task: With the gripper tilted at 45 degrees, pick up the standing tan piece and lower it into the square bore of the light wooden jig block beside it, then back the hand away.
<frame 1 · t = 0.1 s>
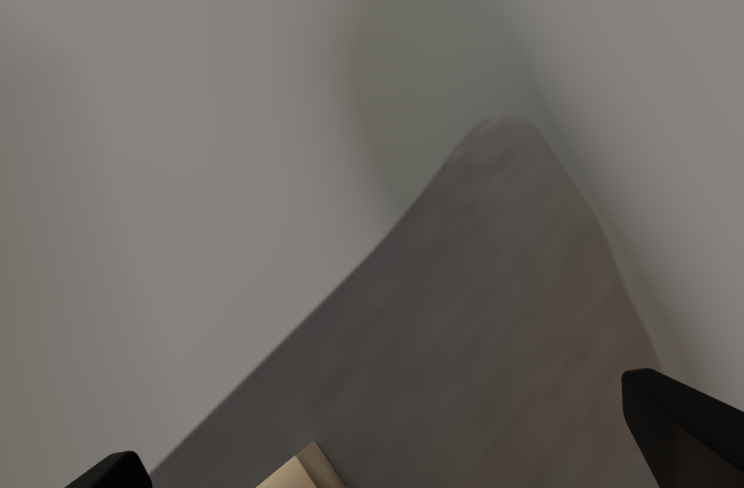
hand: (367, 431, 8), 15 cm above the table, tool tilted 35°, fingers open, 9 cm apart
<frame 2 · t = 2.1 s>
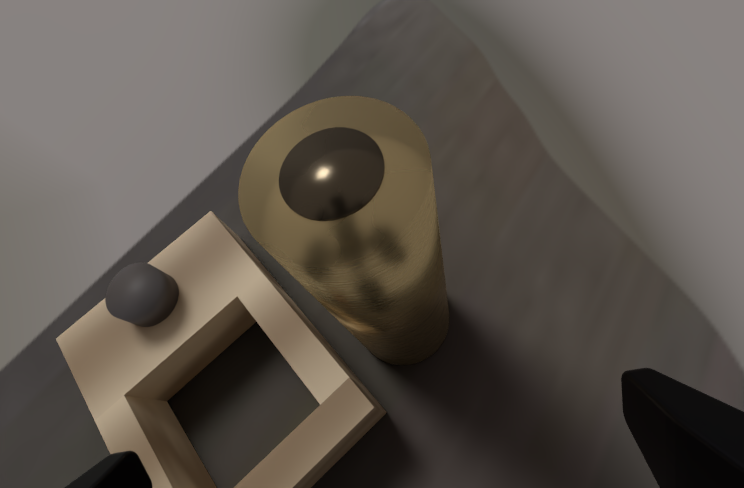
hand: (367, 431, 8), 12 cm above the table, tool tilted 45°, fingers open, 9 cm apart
tan piece: (402, 317, 21), on the table
jig: (249, 405, 20), on the table
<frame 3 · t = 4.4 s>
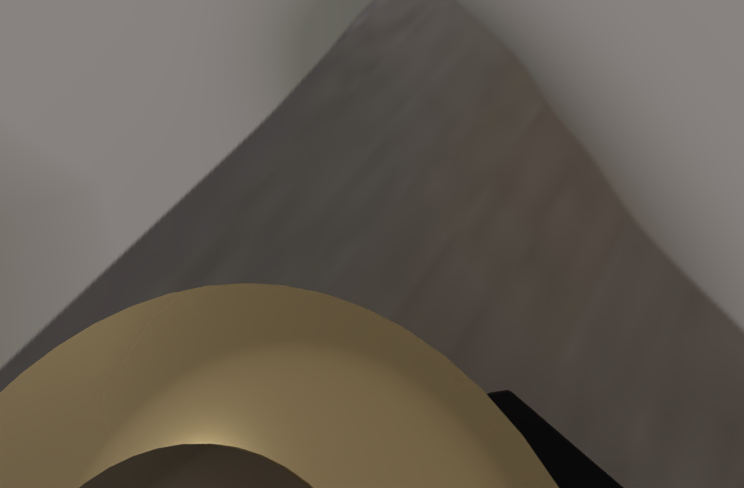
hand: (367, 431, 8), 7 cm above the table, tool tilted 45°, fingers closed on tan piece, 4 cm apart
tan piece: (416, 486, 13), on the table, touching gripper
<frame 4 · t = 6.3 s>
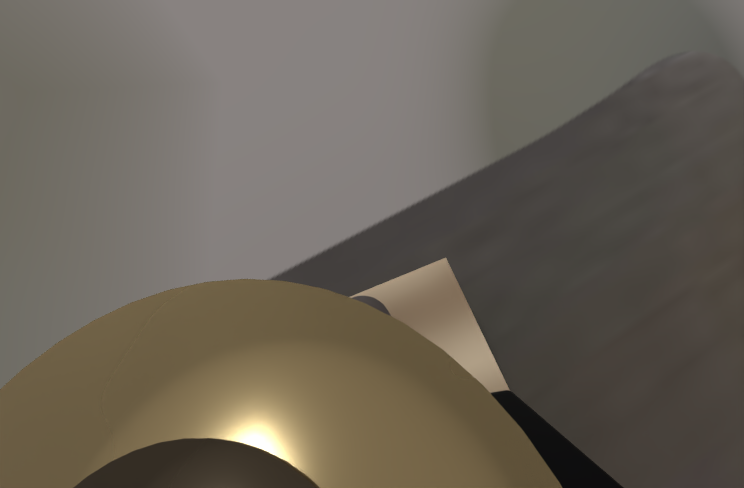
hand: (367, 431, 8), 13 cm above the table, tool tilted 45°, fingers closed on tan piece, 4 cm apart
tan piece: (417, 485, 13), point 7 cm above the table, touching gripper
jig: (424, 472, 19), on the table
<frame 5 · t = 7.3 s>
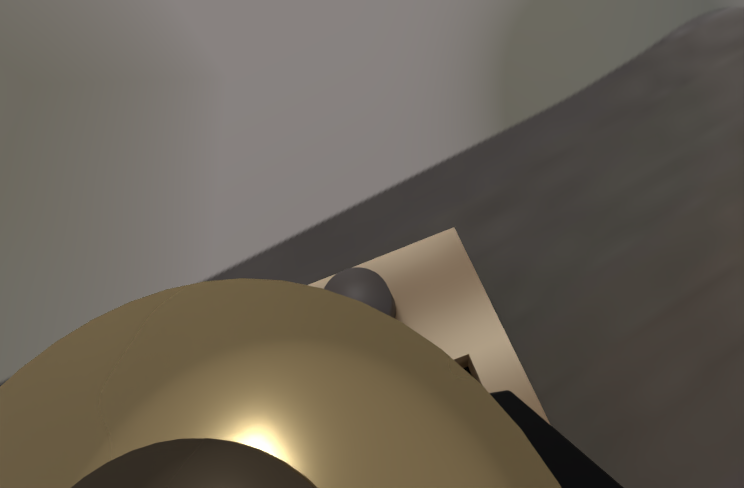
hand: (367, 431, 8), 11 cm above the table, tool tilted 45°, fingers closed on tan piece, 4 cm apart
tan piece: (416, 485, 13), point 4 cm above the table, touching gripper
jig: (426, 471, 17), on the table
when the fingers open (8 cm above the table, at t = 8.2 s): tan piece drops 1 cm, resting in jig.
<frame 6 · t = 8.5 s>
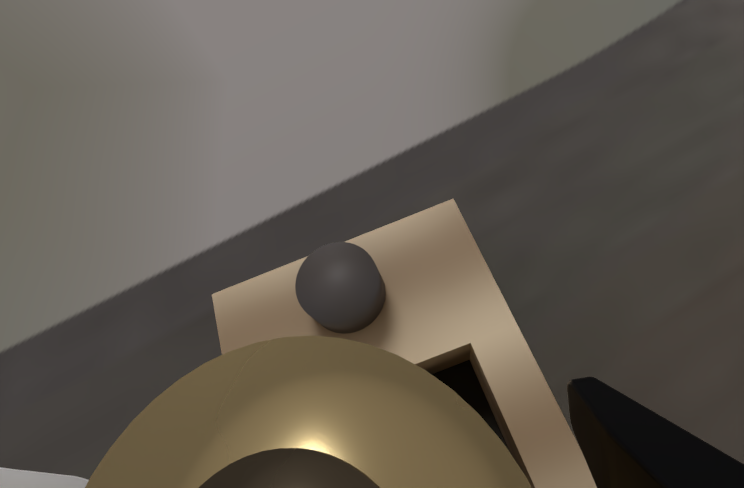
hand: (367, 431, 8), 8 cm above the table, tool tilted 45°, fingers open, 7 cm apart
tan piece: (421, 484, 14), resting in jig
jig: (421, 482, 14), on the table
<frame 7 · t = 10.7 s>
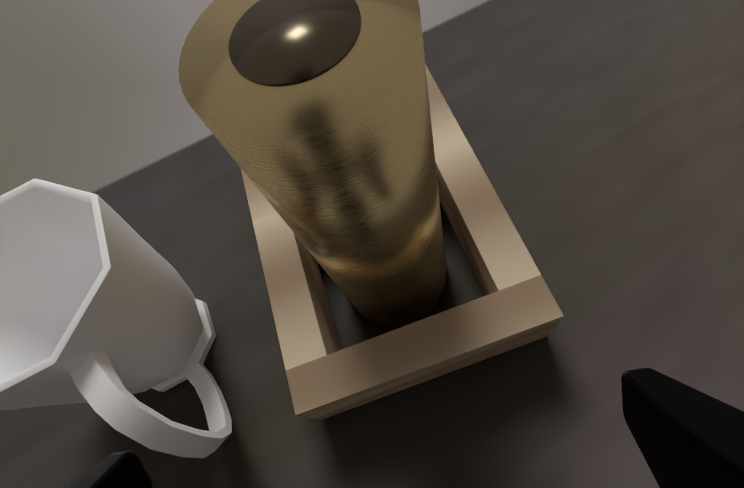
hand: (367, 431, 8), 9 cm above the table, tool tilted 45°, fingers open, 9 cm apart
cup: (192, 363, 19), on the table
tan piece: (395, 275, 19), resting in jig
jig: (394, 273, 19), on the table
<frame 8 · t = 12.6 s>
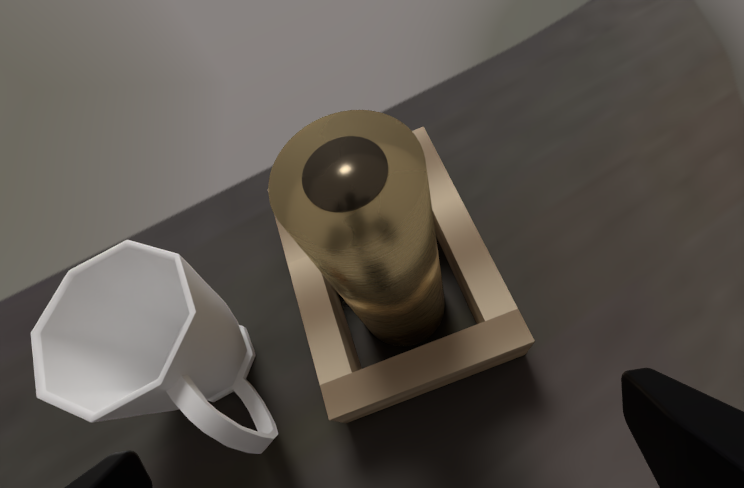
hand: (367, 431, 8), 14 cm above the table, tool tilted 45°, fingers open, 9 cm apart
cup: (236, 377, 23), on the table
tan piece: (402, 304, 23), resting in jig
jig: (402, 303, 23), on the table
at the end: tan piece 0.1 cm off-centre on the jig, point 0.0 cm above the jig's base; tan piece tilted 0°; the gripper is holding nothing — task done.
